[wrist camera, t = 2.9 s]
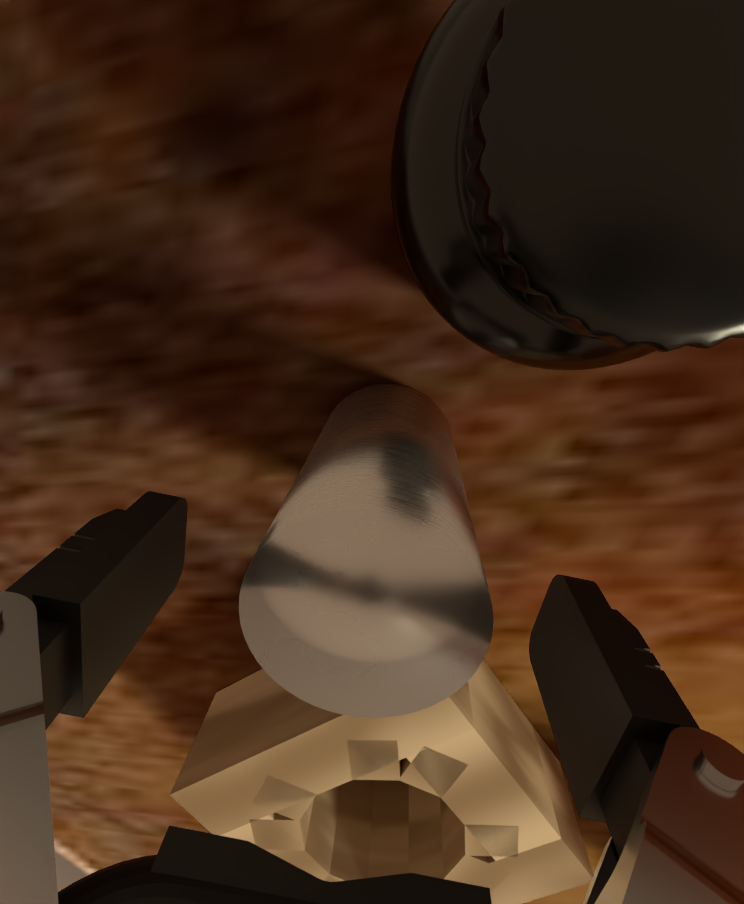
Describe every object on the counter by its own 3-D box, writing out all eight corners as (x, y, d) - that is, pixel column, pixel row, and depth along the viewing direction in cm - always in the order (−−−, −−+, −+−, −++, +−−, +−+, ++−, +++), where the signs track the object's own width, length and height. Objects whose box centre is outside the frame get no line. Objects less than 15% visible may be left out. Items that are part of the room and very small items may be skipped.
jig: (559, 761, 24) (595, 881, 19) (357, 838, 27) (346, 957, 23) (426, 583, 21) (430, 673, 16) (216, 692, 24) (169, 795, 20)
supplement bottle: (355, 205, 16) (231, 75, 5) (529, 27, 14) (957, -833, 3) (485, 363, 18) (613, 534, 7) (659, 221, 16) (1269, 117, 5)
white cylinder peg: (477, 465, 19) (540, 658, 10) (370, 527, 20) (335, 748, 11) (406, 357, 18) (400, 459, 9) (296, 429, 19) (187, 586, 10)
